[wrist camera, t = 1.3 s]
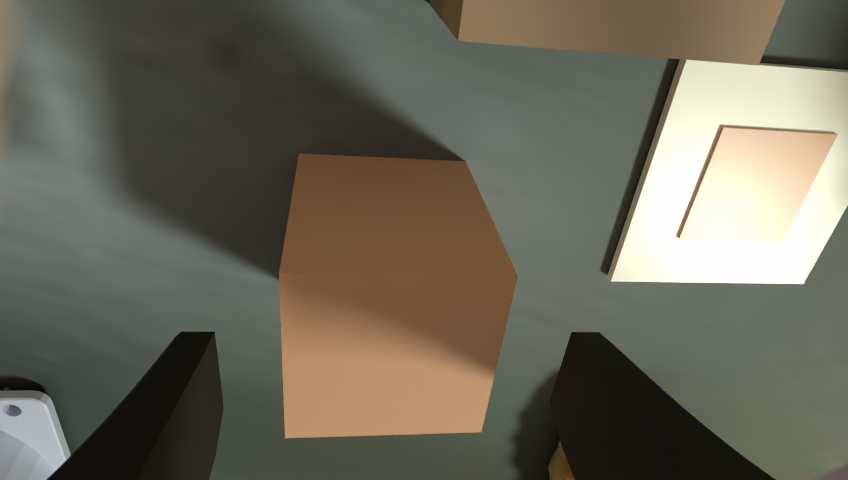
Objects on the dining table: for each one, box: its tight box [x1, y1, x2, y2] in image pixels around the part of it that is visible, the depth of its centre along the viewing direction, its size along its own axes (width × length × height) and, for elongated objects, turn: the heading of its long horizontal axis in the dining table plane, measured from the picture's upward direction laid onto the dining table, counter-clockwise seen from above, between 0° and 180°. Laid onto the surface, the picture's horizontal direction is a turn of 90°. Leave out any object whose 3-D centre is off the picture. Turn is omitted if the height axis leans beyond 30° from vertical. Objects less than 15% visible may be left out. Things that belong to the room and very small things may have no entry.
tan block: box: [279, 153, 517, 438], centre depth 14 cm, size 4×4×6 cm
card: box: [607, 59, 848, 284], centre depth 17 cm, size 7×7×1 cm
